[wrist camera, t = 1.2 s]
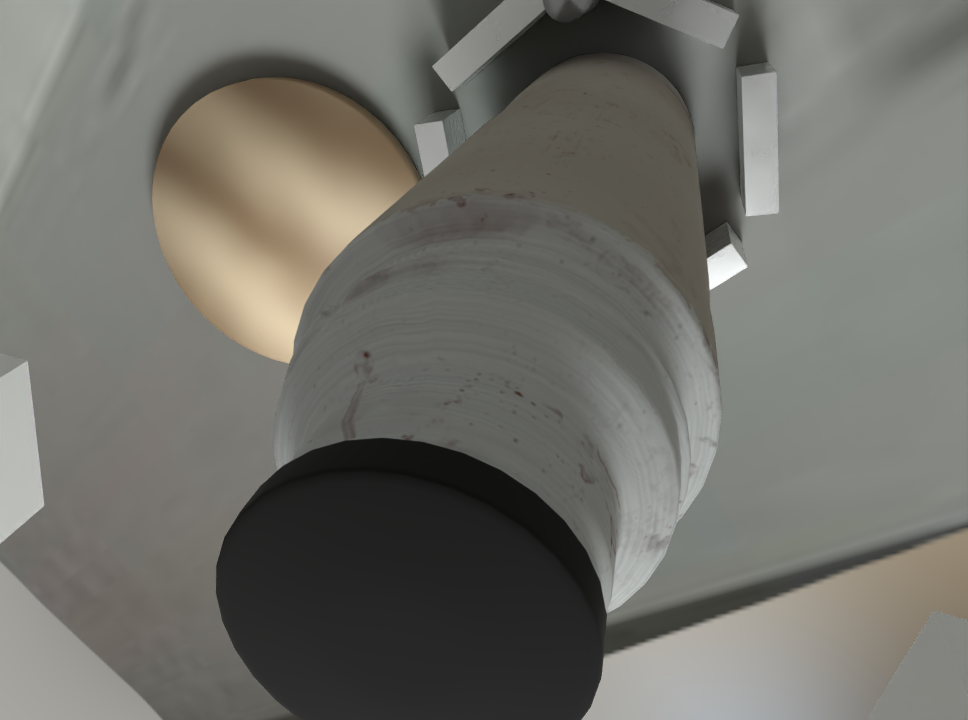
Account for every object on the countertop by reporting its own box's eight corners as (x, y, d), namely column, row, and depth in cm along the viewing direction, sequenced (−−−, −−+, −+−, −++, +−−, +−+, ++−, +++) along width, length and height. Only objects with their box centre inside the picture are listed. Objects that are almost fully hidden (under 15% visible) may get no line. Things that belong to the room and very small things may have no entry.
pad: (186, 27, 35) (174, 28, 34) (475, 149, 35) (470, 154, 34) (147, 293, 42) (135, 300, 41) (388, 397, 42) (382, 407, 41)
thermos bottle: (712, 217, 34) (803, 874, 10) (535, 258, 37) (255, 861, 12) (672, 25, 31) (661, 274, 7) (483, 85, 34) (-25, 423, 9)
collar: (497, -89, 31) (467, -96, 26) (847, 57, 30) (875, 74, 26) (397, 228, 37) (360, 263, 33) (682, 350, 37) (682, 402, 33)
